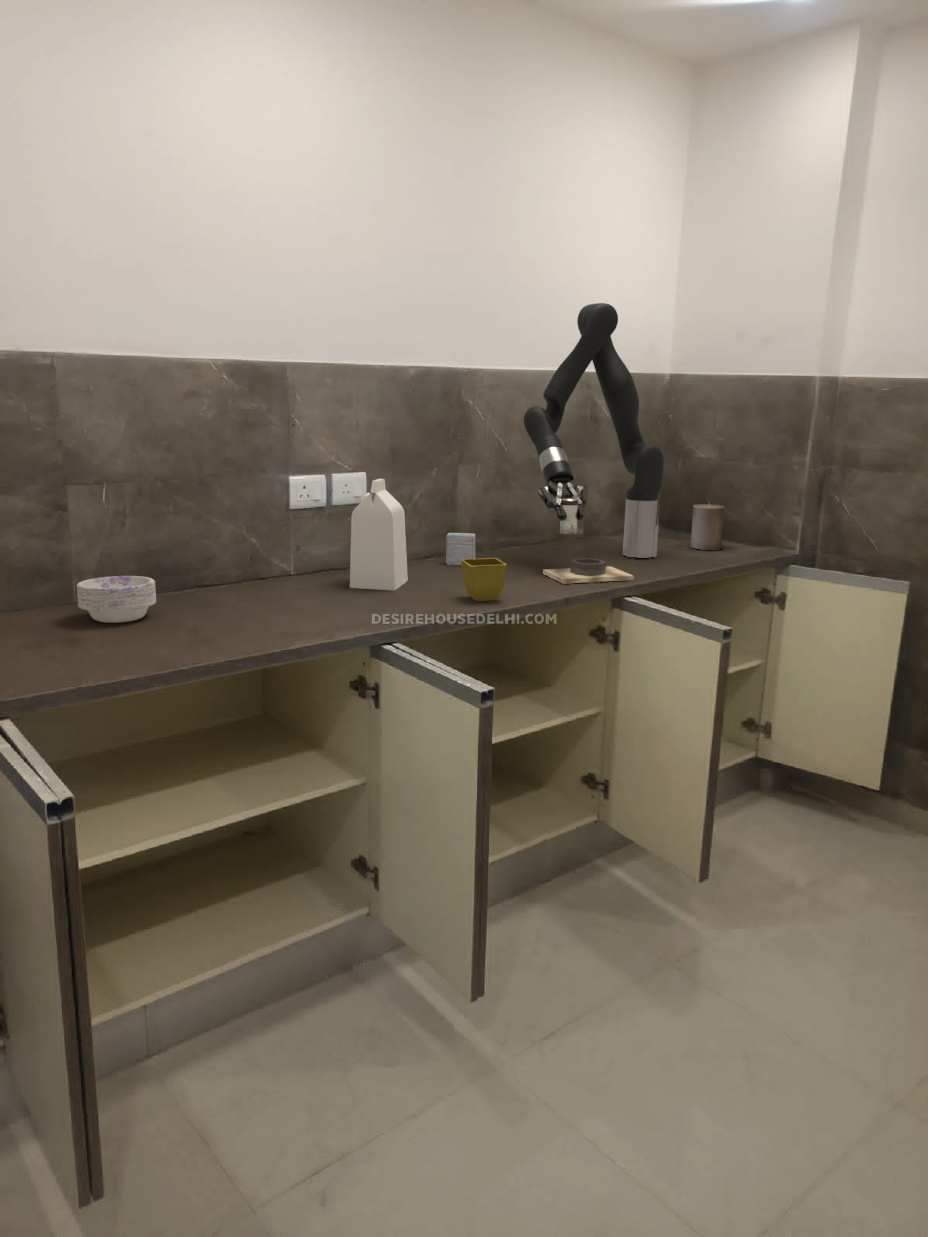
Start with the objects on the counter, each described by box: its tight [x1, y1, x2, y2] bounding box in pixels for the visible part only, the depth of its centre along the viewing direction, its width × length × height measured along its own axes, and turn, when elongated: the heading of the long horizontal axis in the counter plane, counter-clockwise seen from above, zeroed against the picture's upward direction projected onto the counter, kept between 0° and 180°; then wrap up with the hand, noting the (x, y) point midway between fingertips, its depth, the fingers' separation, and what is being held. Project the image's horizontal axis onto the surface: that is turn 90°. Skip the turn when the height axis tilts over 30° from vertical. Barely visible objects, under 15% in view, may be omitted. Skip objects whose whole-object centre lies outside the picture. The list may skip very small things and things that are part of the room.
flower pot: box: [461, 557, 508, 602], centre depth 206 cm, size 9×9×9 cm
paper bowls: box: [76, 575, 157, 624], centre depth 183 cm, size 15×15×8 cm
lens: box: [559, 498, 578, 535], centre depth 232 cm, size 5×5×9 cm
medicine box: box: [445, 532, 477, 566], centre depth 248 cm, size 8×4×9 cm, turn 84°
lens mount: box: [542, 557, 634, 584], centre depth 233 cm, size 20×13×4 cm, turn 108°
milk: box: [349, 478, 409, 591], centre depth 218 cm, size 12×12×26 cm
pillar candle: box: [690, 501, 725, 552], centre depth 281 cm, size 10×10×15 cm
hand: (572, 518), depth 231 cm, fingers closed on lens, 4 cm apart
